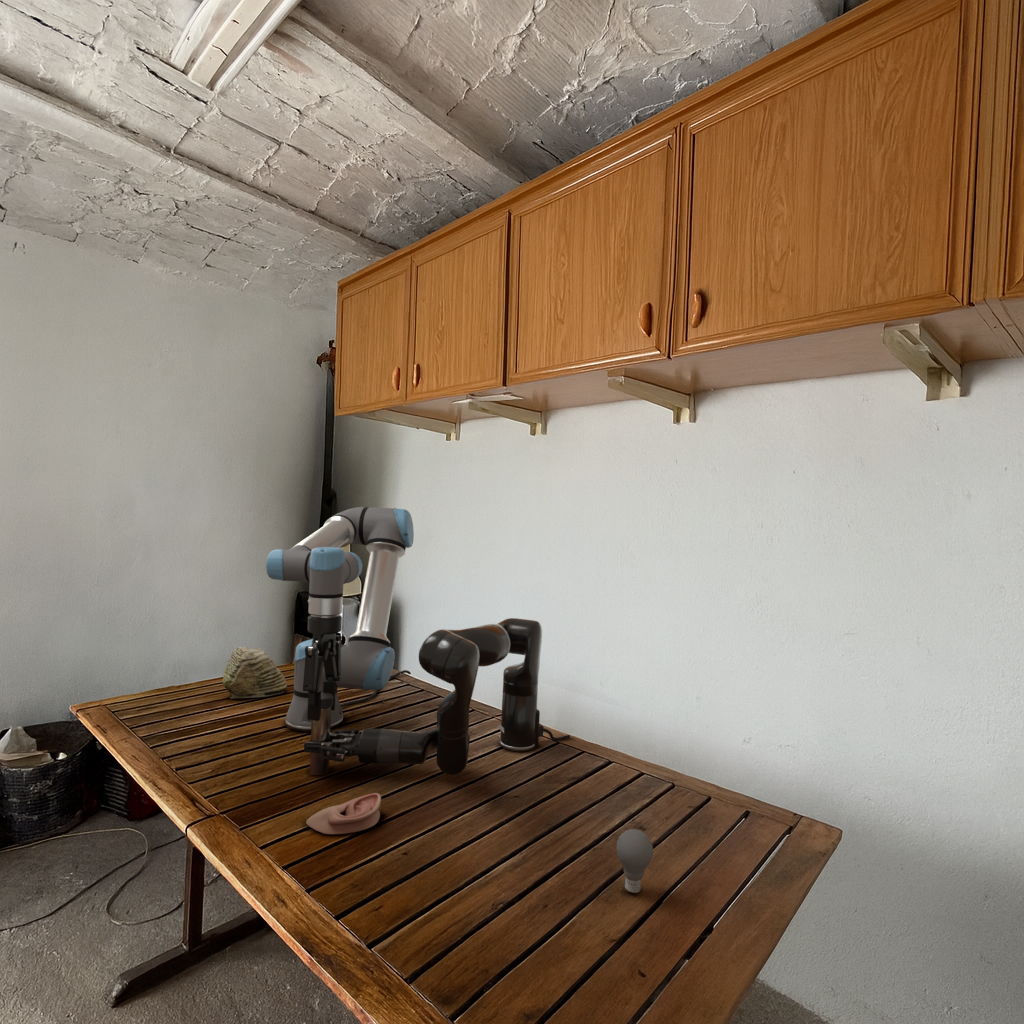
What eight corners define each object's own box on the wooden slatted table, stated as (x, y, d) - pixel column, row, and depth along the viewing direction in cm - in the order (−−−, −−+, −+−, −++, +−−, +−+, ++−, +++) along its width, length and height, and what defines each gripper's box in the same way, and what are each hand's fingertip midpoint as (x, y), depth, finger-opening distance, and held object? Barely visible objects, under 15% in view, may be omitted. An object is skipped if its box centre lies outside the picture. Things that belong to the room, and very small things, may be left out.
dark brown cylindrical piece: (321, 776, 143) (324, 701, 143) (305, 773, 145) (308, 699, 144) (332, 769, 147) (335, 696, 147) (316, 766, 149) (319, 694, 148)
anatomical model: (298, 809, 120) (327, 783, 131) (297, 830, 120) (327, 802, 131) (363, 819, 117) (388, 791, 128) (362, 840, 117) (387, 811, 128)
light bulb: (610, 879, 108) (613, 822, 108) (644, 879, 109) (647, 822, 109) (619, 902, 102) (622, 840, 102) (655, 901, 103) (658, 840, 103)
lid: (324, 710, 143) (325, 700, 142) (305, 707, 144) (306, 697, 144) (337, 703, 147) (337, 694, 147) (318, 700, 149) (319, 691, 149)
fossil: (218, 695, 195) (220, 647, 195) (278, 685, 208) (279, 640, 207) (228, 703, 189) (230, 653, 188) (289, 692, 201) (290, 645, 201)
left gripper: (329, 606, 156) (325, 700, 156) (287, 621, 136) (283, 727, 137) (358, 609, 154) (354, 703, 155) (320, 623, 135) (316, 731, 135)
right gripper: (389, 719, 153) (318, 716, 153) (375, 742, 138) (297, 738, 139) (387, 750, 153) (317, 746, 153) (374, 776, 139) (296, 772, 139)
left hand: (321, 714), depth 146 cm, fingers open, 7 cm apart
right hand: (308, 742), depth 146 cm, fingers closed on dark brown cylindrical piece, 4 cm apart
